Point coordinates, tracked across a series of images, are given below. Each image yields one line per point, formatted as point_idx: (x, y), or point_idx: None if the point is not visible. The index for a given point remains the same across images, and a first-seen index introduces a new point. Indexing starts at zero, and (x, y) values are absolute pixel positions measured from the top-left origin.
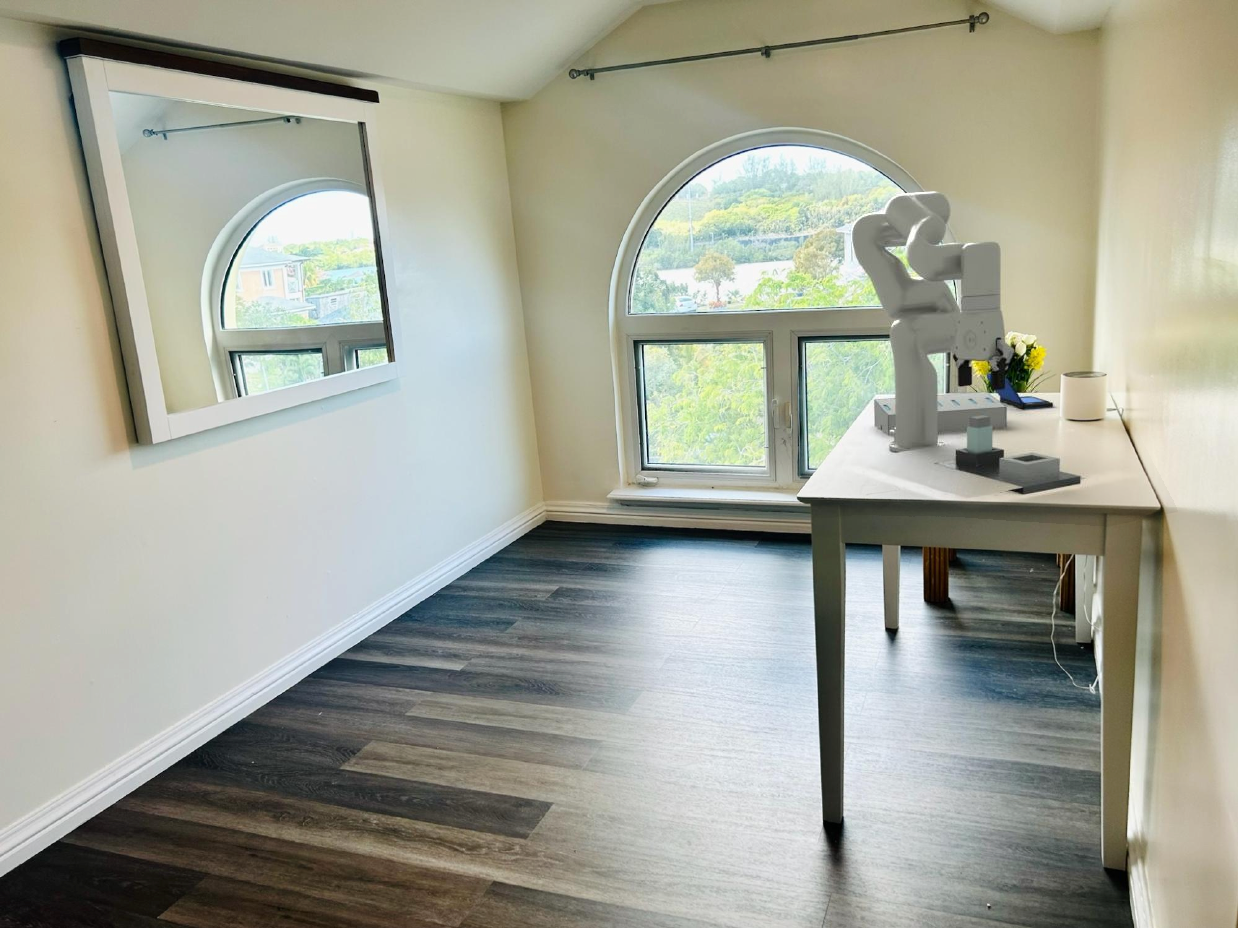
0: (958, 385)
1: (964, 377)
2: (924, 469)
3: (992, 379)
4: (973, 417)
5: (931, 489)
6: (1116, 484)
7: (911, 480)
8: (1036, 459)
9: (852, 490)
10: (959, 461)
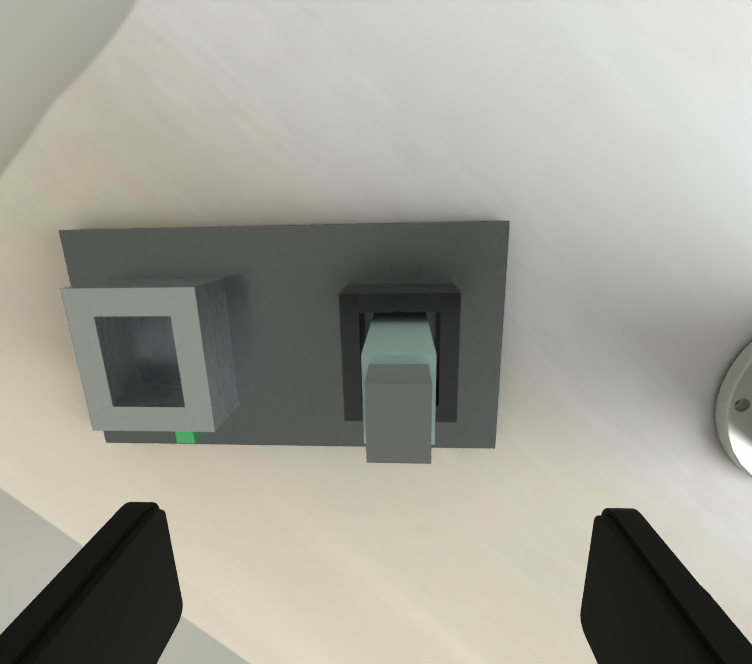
0: (629, 509)
1: (637, 632)
2: (537, 203)
3: (48, 588)
4: (408, 391)
5: (273, 20)
6: (78, 484)
7: (430, 45)
8: (171, 401)
9: None
10: (433, 285)
